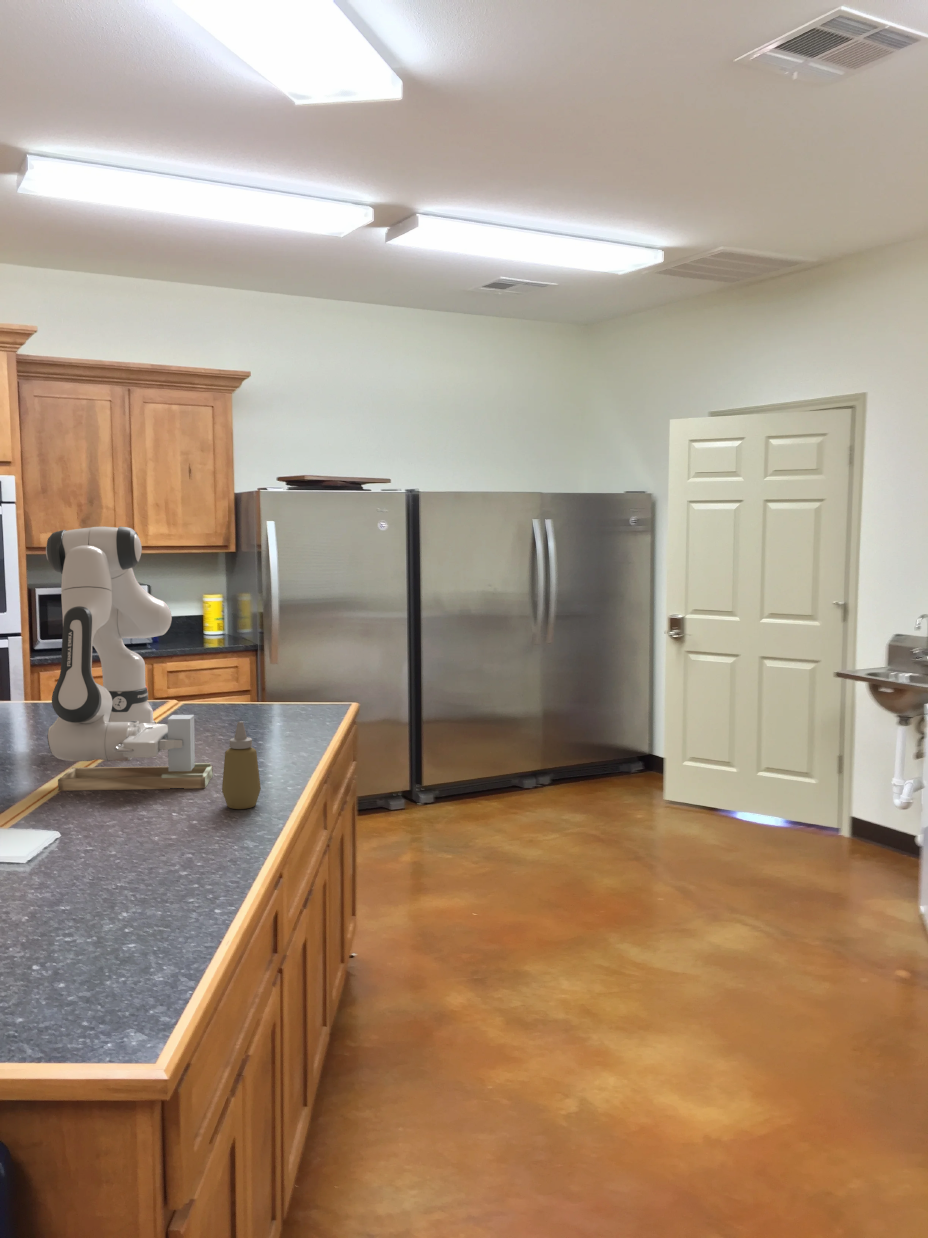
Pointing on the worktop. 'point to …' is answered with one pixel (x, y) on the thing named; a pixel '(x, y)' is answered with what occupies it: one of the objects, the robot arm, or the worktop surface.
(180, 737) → the blue-grey block
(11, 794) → the worktop surface
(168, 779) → the channel
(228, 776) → the squeeze bottle
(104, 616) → the robot arm
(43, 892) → the worktop surface
